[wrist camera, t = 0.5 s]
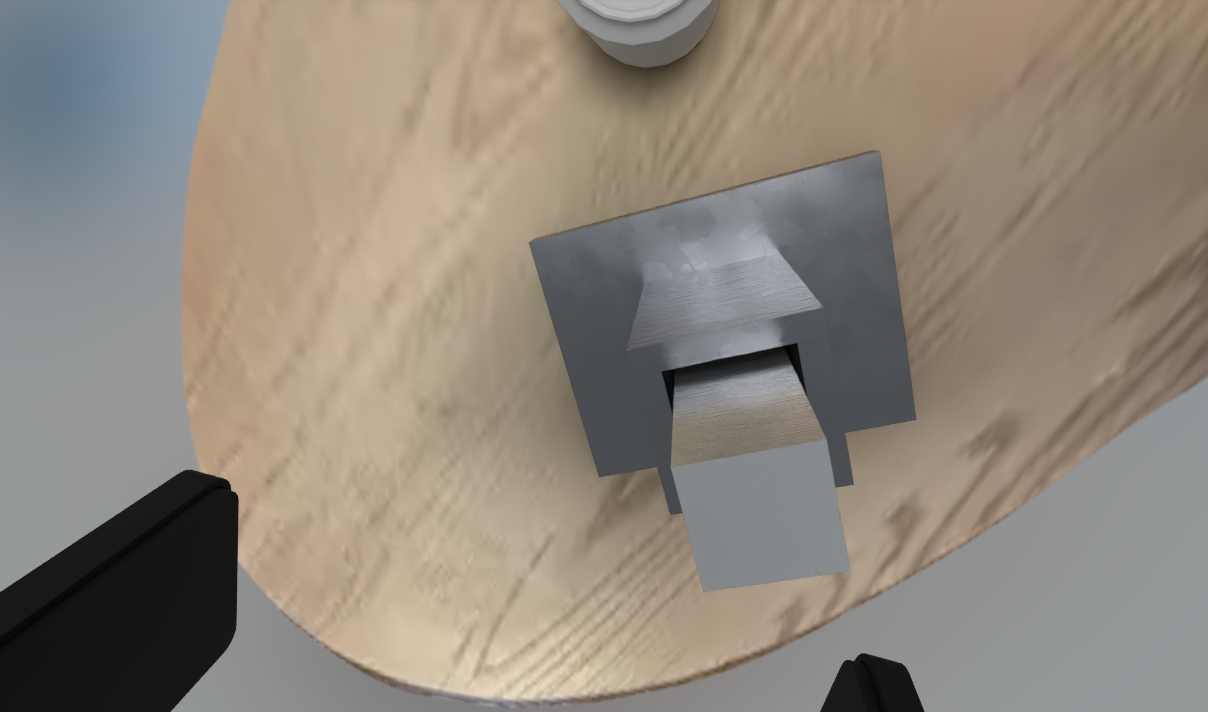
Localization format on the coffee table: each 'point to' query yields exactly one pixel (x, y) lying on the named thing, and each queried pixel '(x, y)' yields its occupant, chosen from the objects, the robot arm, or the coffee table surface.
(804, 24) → the coffee table surface
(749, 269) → the stand housing
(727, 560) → the column
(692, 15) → the can
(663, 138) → the coffee table surface
